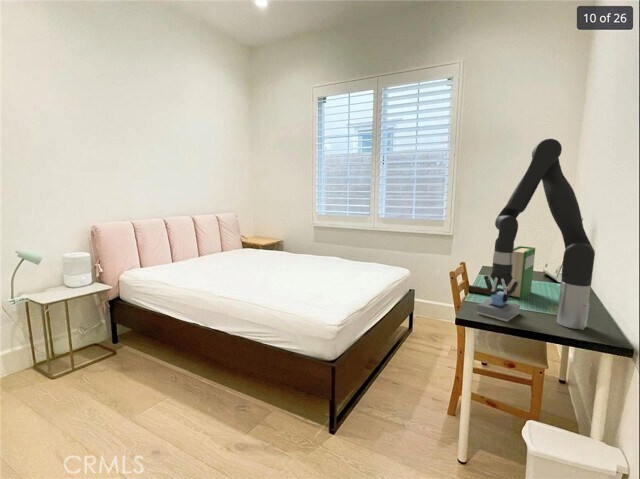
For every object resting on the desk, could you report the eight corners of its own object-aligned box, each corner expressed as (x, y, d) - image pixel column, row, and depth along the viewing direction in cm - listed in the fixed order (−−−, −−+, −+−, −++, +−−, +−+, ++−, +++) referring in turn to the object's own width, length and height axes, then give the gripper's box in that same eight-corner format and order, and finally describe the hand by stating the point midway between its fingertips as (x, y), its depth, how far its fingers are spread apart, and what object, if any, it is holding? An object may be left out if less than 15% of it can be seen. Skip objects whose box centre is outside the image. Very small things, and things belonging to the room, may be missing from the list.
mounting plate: (518, 313, 144) (519, 304, 144) (507, 321, 135) (507, 312, 134) (490, 306, 153) (490, 298, 153) (477, 313, 144) (477, 304, 143)
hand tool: (467, 292, 174) (468, 284, 174) (469, 291, 178) (470, 282, 177) (508, 300, 163) (508, 291, 162) (509, 298, 166) (510, 289, 165)
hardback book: (521, 299, 163) (526, 251, 160) (505, 296, 168) (509, 249, 165) (530, 292, 176) (535, 247, 172) (515, 289, 181) (519, 246, 177)
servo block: (507, 302, 145) (508, 291, 145) (499, 307, 139) (500, 295, 138) (499, 300, 148) (500, 289, 147) (490, 305, 141) (491, 293, 141)
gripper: (524, 263, 138) (520, 303, 140) (489, 258, 148) (485, 295, 151) (518, 266, 133) (514, 307, 136) (482, 260, 144) (478, 298, 146)
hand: (499, 300), depth 143 cm, fingers closed on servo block, 3 cm apart
